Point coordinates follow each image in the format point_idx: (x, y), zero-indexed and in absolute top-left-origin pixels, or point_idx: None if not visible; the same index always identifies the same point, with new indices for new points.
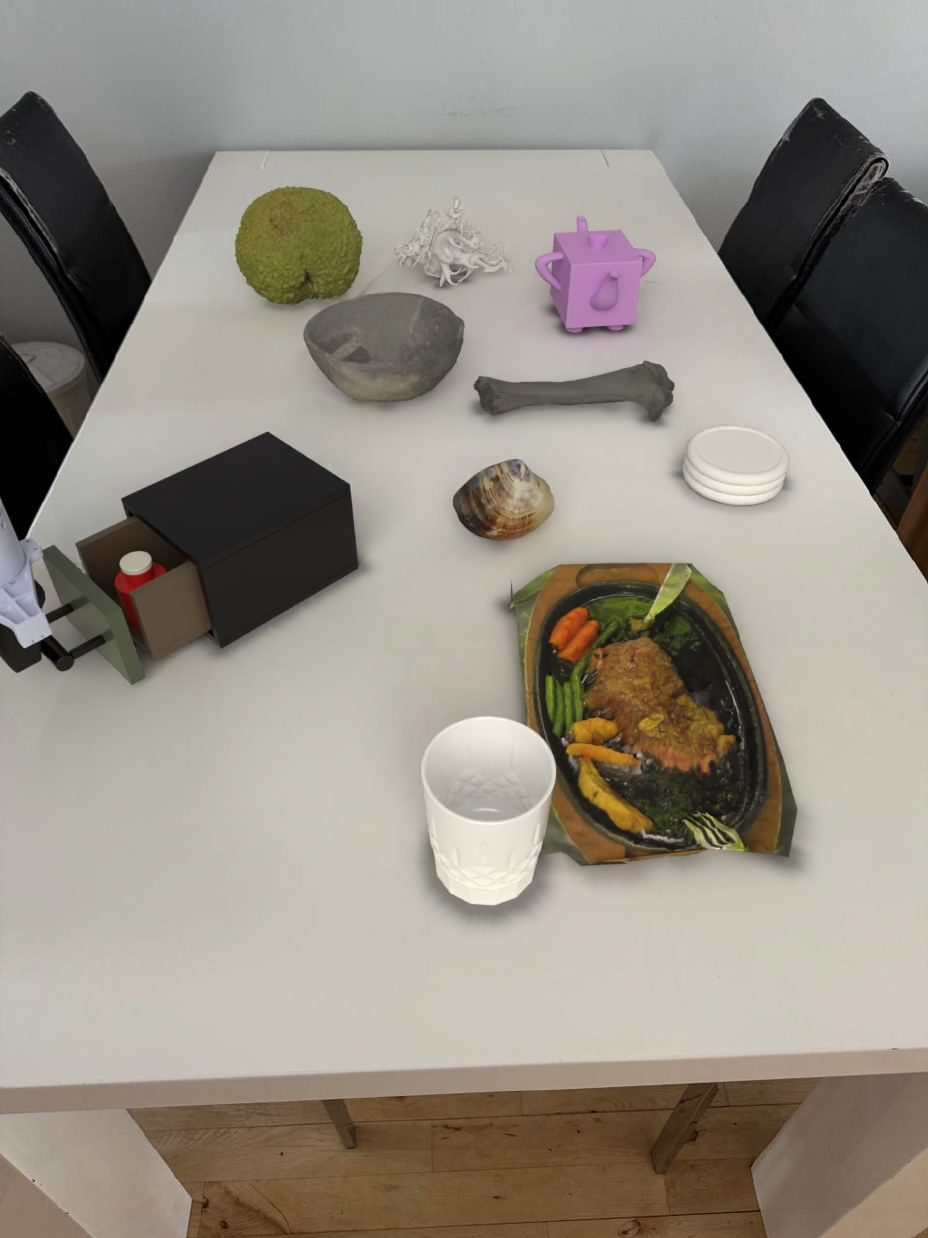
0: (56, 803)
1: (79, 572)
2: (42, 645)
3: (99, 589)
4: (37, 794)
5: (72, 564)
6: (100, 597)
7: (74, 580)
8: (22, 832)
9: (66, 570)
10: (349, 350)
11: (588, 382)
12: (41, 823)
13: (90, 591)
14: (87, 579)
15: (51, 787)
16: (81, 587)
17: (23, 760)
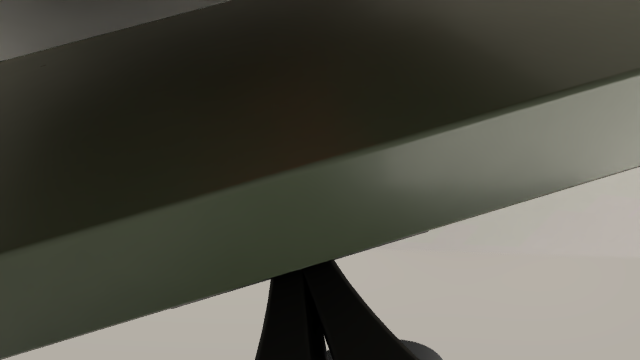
0: (566, 197)
1: (184, 226)
2: (327, 261)
3: (491, 125)
4: (526, 220)
5: (34, 260)
6: (569, 135)
7: (274, 262)
8: (569, 242)
9: (110, 297)
10: None
11: None
12: (579, 219)
13: (467, 186)
14: (314, 185)
15: (531, 201)
16: (375, 228)
17: (442, 234)
